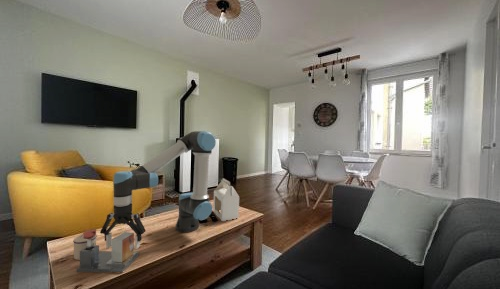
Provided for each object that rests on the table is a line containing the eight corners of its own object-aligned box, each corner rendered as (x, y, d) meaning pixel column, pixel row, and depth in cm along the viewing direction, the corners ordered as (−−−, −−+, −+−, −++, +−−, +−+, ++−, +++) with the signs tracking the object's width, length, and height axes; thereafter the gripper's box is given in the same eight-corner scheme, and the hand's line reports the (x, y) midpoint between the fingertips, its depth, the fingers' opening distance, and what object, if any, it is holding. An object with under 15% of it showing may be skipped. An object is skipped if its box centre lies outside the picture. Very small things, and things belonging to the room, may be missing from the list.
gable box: (213, 211, 169) (214, 177, 168) (228, 209, 175) (229, 176, 174) (222, 221, 149) (223, 183, 148) (238, 218, 155) (239, 182, 154)
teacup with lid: (94, 257, 101) (94, 234, 101) (70, 262, 97) (70, 238, 96) (98, 246, 111) (99, 224, 111) (77, 249, 107) (77, 227, 107)
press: (139, 254, 104) (139, 238, 104) (122, 272, 90) (122, 254, 90) (99, 253, 104) (99, 237, 104) (76, 271, 90) (76, 252, 90)
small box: (121, 263, 94) (122, 240, 94) (111, 261, 95) (111, 239, 94) (134, 253, 102) (134, 232, 102) (124, 252, 103) (124, 231, 102)
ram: (98, 250, 96) (98, 229, 96) (90, 256, 92) (91, 233, 91) (88, 250, 96) (88, 228, 96) (80, 256, 92) (80, 233, 91)
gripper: (152, 201, 101) (152, 243, 102) (102, 201, 101) (102, 243, 102) (145, 207, 94) (145, 252, 95) (90, 206, 94) (91, 251, 94)
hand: (123, 247), depth 98 cm, fingers open, 13 cm apart
